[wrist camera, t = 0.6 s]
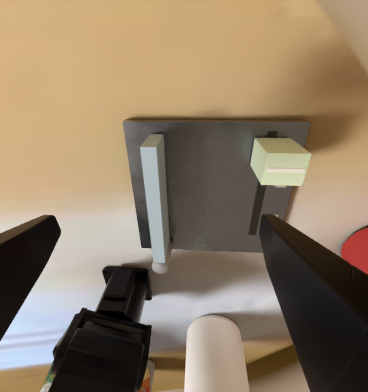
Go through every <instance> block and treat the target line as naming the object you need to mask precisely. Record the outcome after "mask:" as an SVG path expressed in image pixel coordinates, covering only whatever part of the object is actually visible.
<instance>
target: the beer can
mask: <svg viewBox="0 0 368 392" xmlns="http://www.w3.org/2000/svg"><path fill="white" fill-rule="evenodd" d="M341 256H342V258H343V259H344V260H346V261H347V262H349V263H350V264H351V265H354V266H355V267H357V268H358V269H360V270H361V271H363V272H365V273H366V274H368V227H367V228H363V229H361V230H359V231H357V232H355V233H354V234H352V235H351V236H350V237H349V238H348V239H347V240H346V241H345V243H344V244H343V246H342V249H341Z"/></svg>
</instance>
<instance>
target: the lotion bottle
mask: <svg viewBox="0 0 368 392" xmlns="http://www.w3.org/2000/svg"><path fill="white" fill-rule="evenodd" d="M154 369H155V364H154V362H153V361H151V360H149V359H148V362H147V367H146V372H145V376H144V379H143V383H142V386H141V388H140V391H139V392H151V390H152V383H153V377H154Z"/></svg>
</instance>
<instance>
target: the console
mask: <svg viewBox="0 0 368 392" xmlns="http://www.w3.org/2000/svg"><path fill="white" fill-rule="evenodd" d="M310 125H311V122H310V121H307V120H157V119H126V120H124V121H123V127H124V133H125V140H126V147H127V153H128V160H129V167H130V173H131V180H132V187H133V193H134V200H135V207H136V213H137V220H138V227H139V233H140V240H141V247H142V248H152V246H151V237H150V229H149V220H148V212H147V203H146V194H145V186H144V177H143V169H142V160H141V152H140V146H141V145H142V144H143V143H144V141H145V140H146V139H147V138H148V136H149V135H150V134H164V149H165V167H166V184H167V202H168V219H169V237H170V239H169V240H171V241H172V244H173V245H172V249H184V250H209V251H235V252H260V253H263V249H262V245H261V240H260V236H259V228H260V222H261V216H262V215H263V214H274V215H275V216H277V217H278V218H280V219H282V220H284V216H285V213H286V209H287V206H288V202H289V199H290V195H291V192H292V188H293V186H287V185H261V184H260V182H259V180H258V178H257V176H256V175H255V173H254V171H253V169H252V167H251V165H250V164H251V158H252V151H253V145H254V139H255V138H291V139H292V140H294V141H295V142H296V143H298V144H299V145H300V146H302V147H303V148H304V146H305V143H306V139H307V135H308V132H309V128H310Z"/></svg>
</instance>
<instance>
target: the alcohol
mask: <svg viewBox="0 0 368 392" xmlns="http://www.w3.org/2000/svg"><path fill="white" fill-rule="evenodd" d="M184 392H249V385H248V379H247V372H246V366H245V359H244V353H243V347H242V340H241V334H240V330H239V328H238V327H237V326H236V324H235V323H234V322H233V321H232V320H230V319H228V318H226V317H223V316H219V315H206V316H202V317H199V318H197V319H195V320H194V321H193V322H192V323H191V325H190V326H189V328H188V330H187V346H186V367H185V388H184Z"/></svg>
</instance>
